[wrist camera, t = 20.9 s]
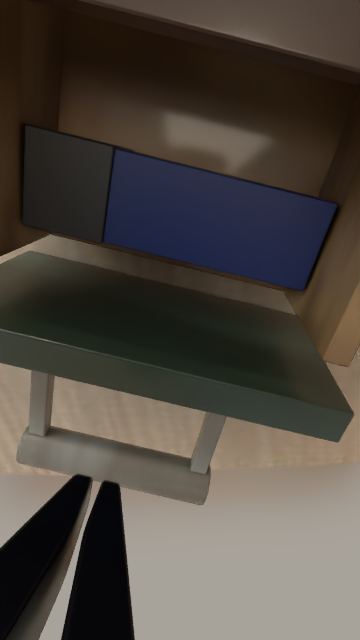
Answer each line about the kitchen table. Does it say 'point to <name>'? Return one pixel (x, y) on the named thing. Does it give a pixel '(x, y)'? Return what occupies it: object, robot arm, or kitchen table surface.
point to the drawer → (163, 299)
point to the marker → (170, 208)
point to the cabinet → (248, 28)
